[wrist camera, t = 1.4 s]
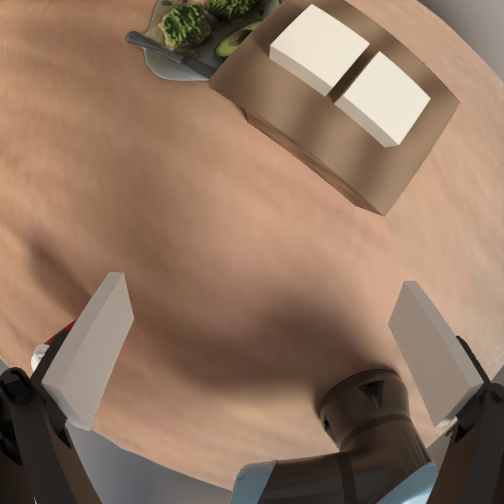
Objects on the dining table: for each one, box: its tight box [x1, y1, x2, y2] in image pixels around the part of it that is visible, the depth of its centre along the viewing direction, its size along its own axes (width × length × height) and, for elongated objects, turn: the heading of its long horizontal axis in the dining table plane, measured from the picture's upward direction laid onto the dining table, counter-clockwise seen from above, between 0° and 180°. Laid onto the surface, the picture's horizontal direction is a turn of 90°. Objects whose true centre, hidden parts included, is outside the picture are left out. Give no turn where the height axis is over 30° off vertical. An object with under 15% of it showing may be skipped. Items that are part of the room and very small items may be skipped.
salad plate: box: [126, 0, 281, 81], centre depth 26 cm, size 19×18×5 cm
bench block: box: [208, 0, 460, 217], centre depth 26 cm, size 20×16×9 cm
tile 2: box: [269, 4, 370, 97], centre depth 20 cm, size 6×6×3 cm
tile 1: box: [334, 51, 431, 147], centre depth 21 cm, size 6×6×3 cm
